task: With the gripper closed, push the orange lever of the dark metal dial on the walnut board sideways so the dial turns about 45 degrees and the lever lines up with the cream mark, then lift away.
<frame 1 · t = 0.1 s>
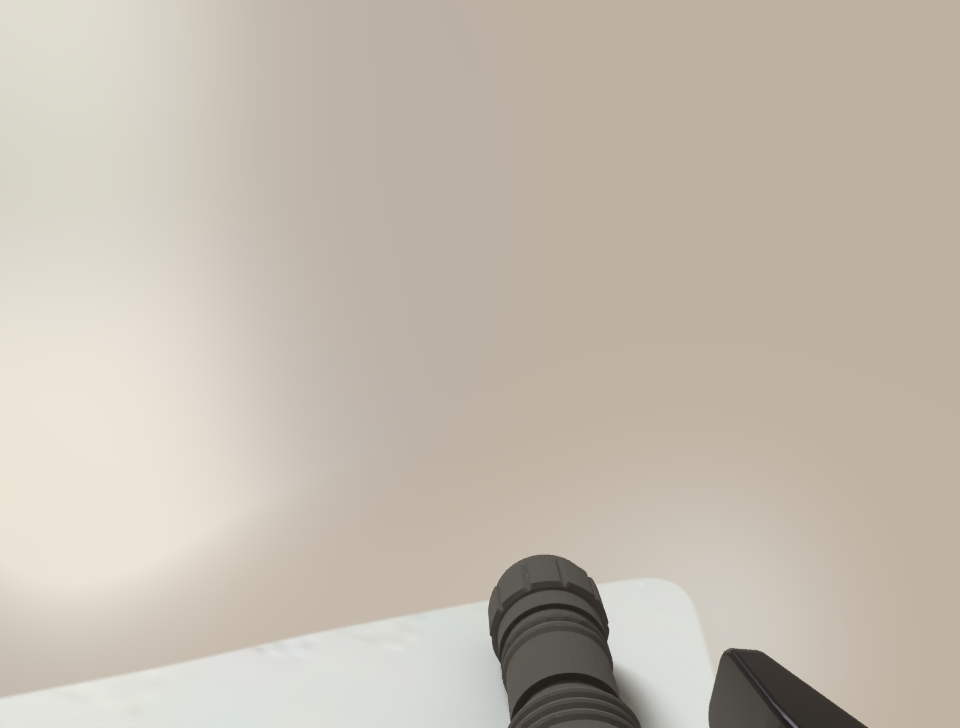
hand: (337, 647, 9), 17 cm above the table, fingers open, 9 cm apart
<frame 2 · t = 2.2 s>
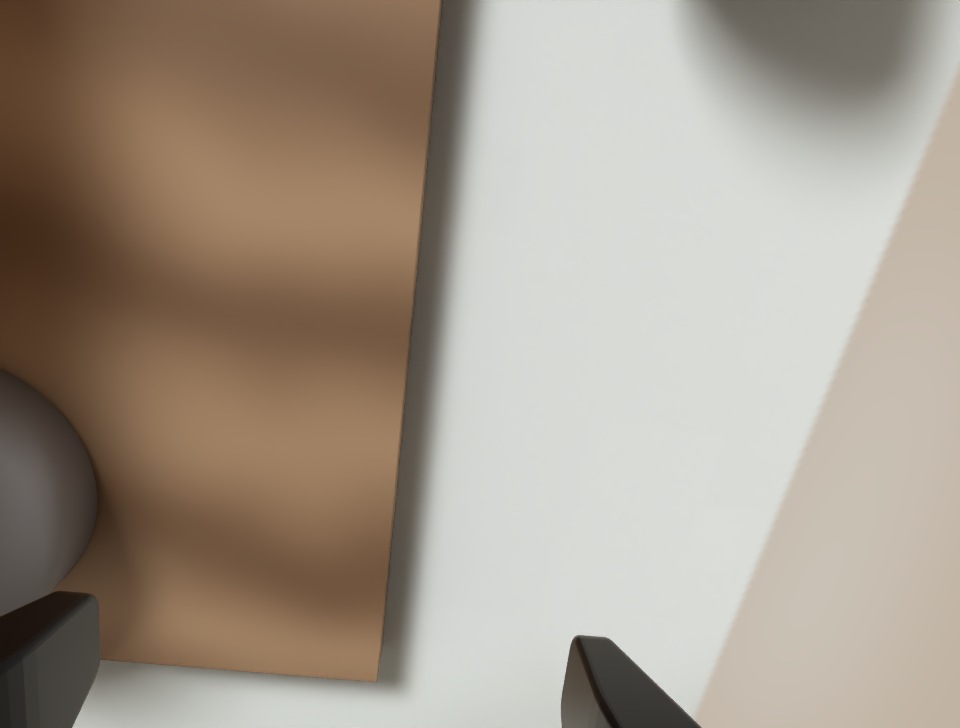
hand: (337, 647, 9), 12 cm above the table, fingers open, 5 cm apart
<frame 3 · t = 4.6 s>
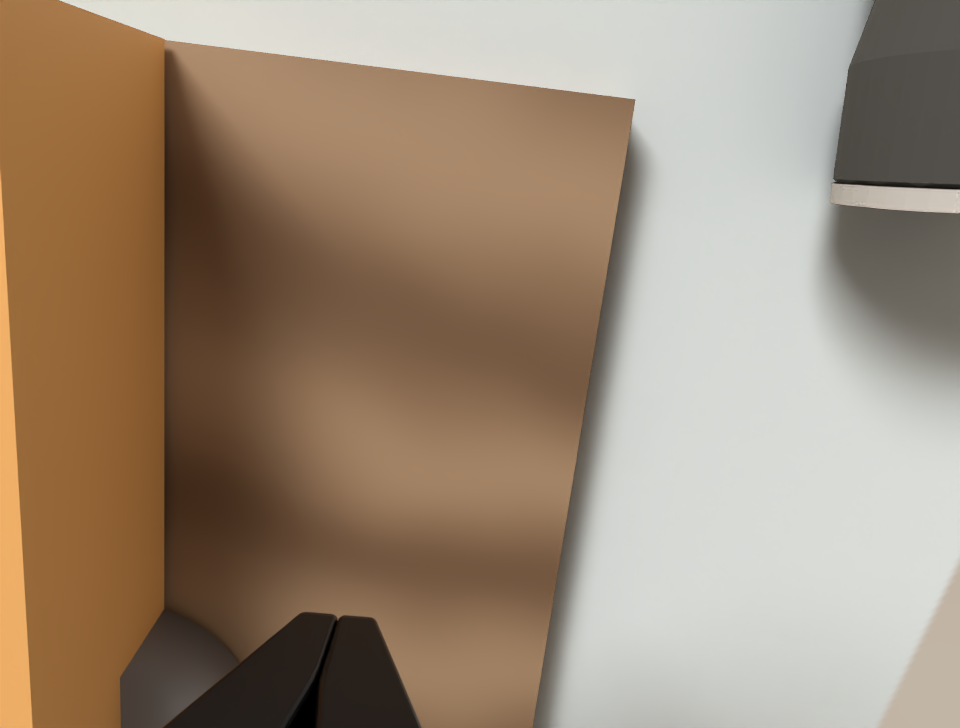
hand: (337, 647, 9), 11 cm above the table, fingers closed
dial board: (150, 482, 20), on the table
dial: (59, 547, 15), point 5 cm above the table, hinge at 0.0°
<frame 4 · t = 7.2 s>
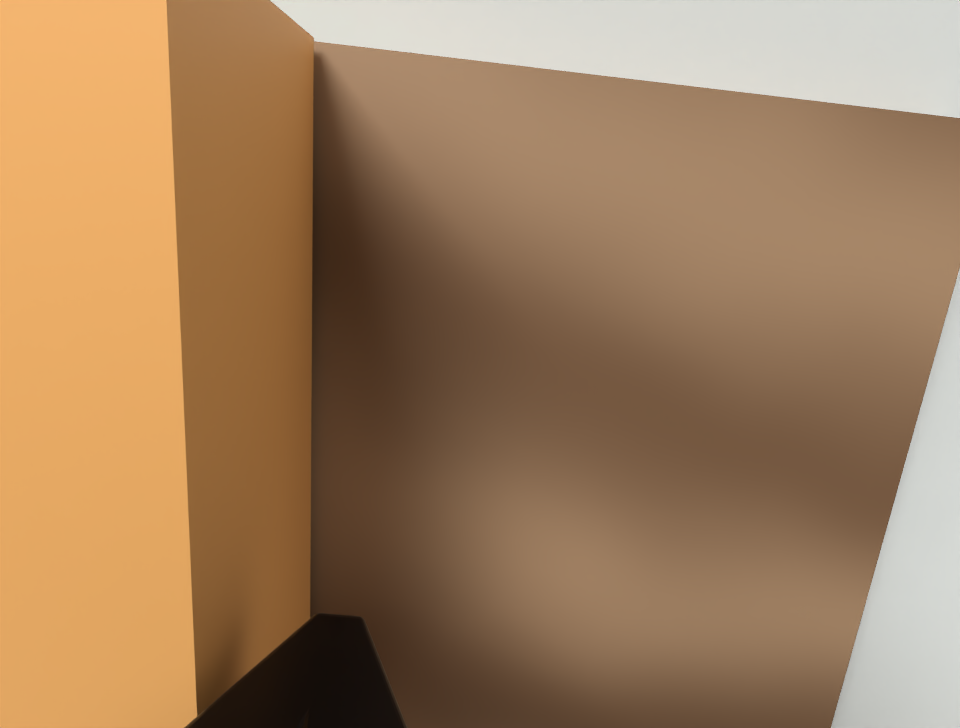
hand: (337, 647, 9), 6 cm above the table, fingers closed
dial board: (286, 624, 15), on the table
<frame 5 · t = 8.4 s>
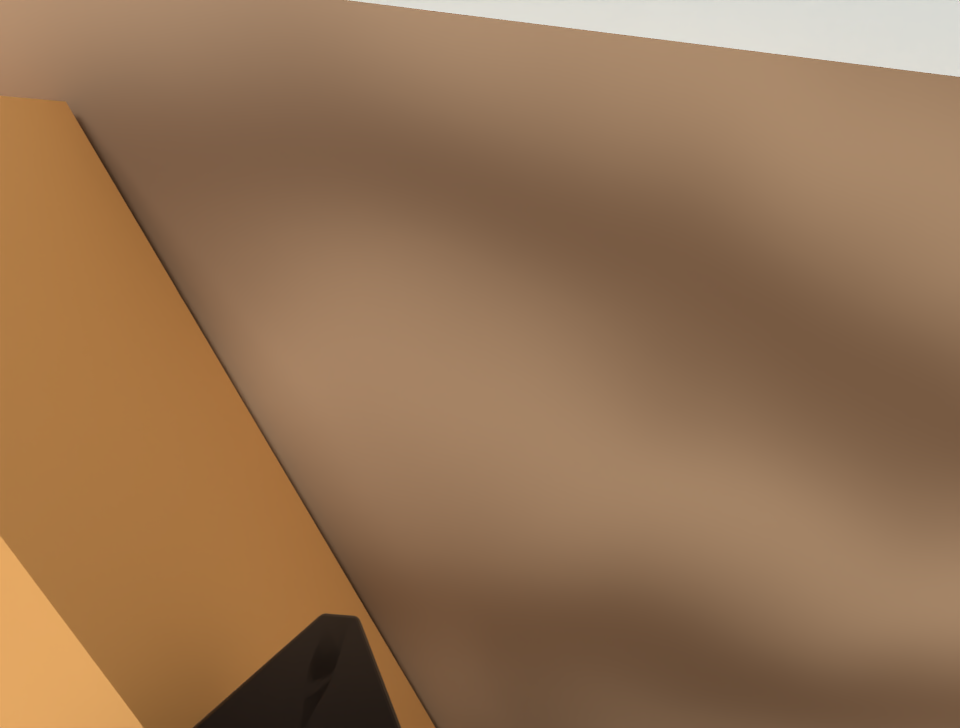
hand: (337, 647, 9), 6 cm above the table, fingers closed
dial board: (509, 606, 16), on the table
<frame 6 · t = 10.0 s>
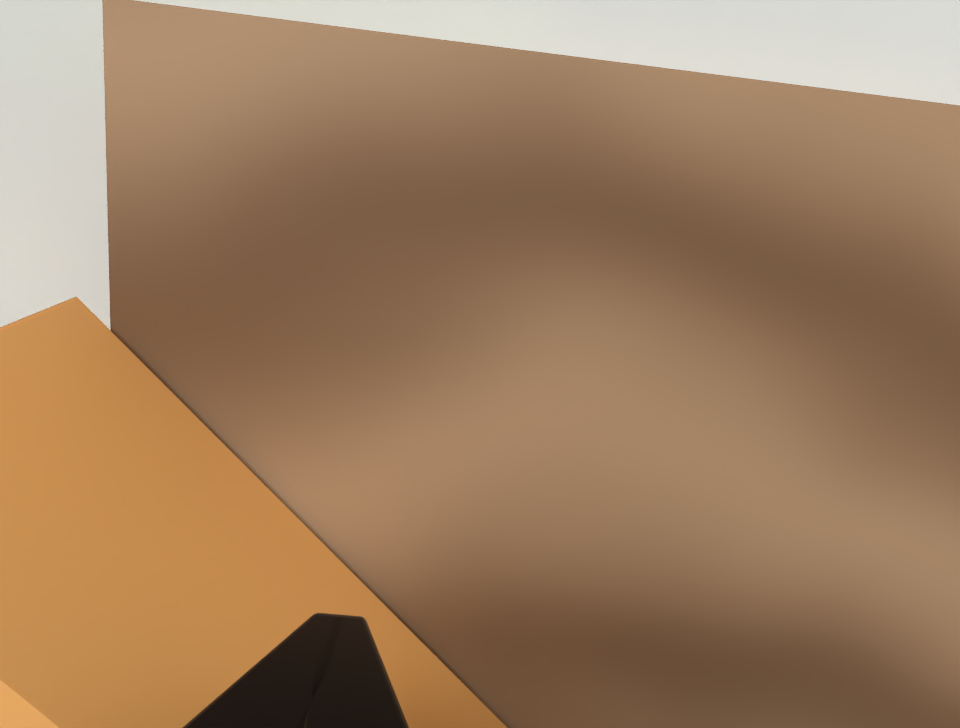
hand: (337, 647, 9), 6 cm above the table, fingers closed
dial board: (679, 642, 16), on the table
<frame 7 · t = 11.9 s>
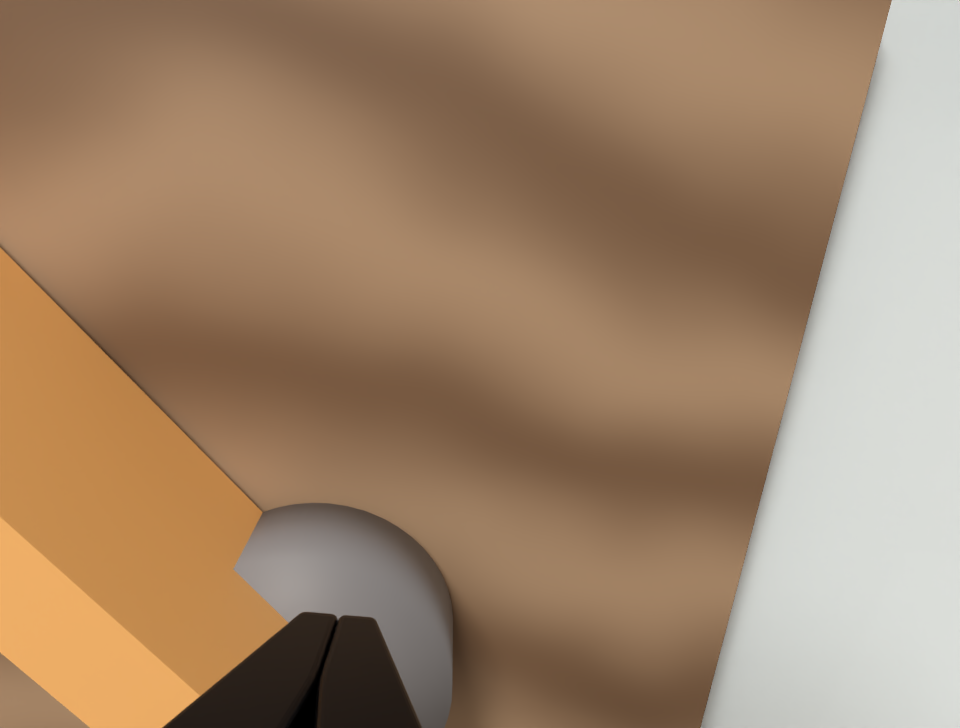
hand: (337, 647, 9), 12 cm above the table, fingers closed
dial board: (348, 388, 20), on the table
dial: (76, 494, 15), point 5 cm above the table, hinge at 45.7°
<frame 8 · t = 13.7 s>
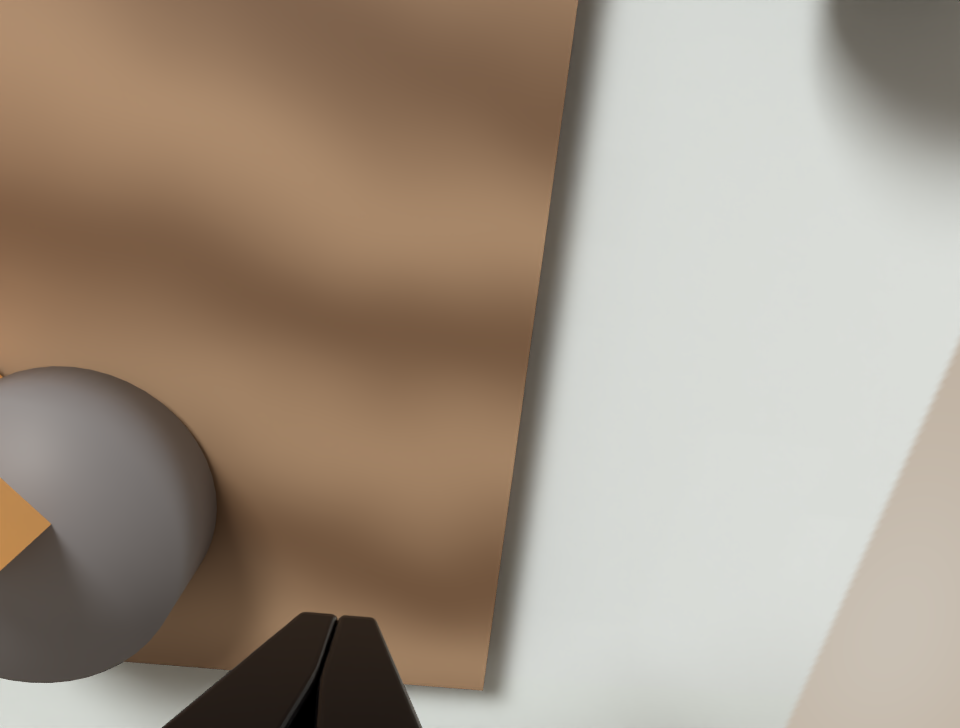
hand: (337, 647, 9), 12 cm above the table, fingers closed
dial board: (103, 254, 19), on the table
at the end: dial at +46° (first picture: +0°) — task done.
